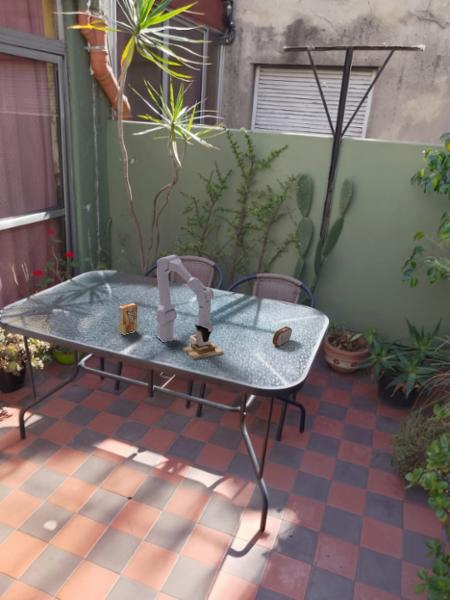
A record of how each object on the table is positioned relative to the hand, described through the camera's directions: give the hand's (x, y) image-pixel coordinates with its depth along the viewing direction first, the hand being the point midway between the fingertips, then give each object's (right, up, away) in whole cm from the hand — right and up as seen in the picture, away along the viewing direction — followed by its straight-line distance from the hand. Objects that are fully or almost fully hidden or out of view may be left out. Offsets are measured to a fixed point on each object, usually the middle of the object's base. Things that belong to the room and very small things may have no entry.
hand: (203, 339), depth 218 cm
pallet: (0, -6, +2) cm, 6 cm away
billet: (0, -2, 0) cm, 2 cm away
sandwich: (+40, -3, +16) cm, 43 cm away
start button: (-3, -1, +11) cm, 12 cm away
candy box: (-40, +2, +18) cm, 44 cm away
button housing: (-3, -2, +12) cm, 12 cm away
